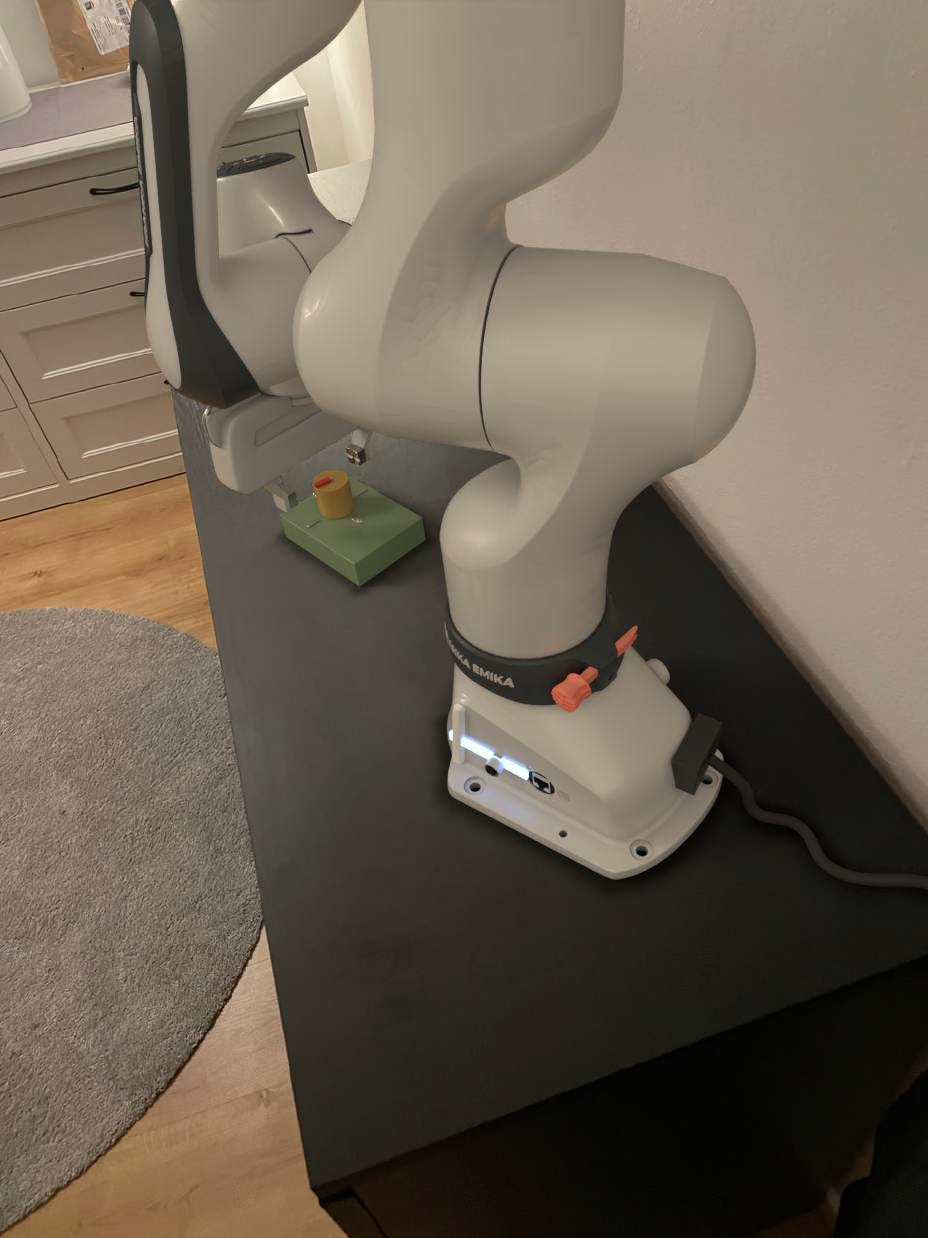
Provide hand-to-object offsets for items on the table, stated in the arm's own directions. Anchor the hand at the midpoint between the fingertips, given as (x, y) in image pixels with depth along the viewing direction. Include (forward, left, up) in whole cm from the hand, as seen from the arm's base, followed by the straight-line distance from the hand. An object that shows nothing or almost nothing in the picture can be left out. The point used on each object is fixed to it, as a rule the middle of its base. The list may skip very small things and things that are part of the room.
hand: (324, 483), depth 88 cm
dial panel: (-2, -1, -7) cm, 7 cm away
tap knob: (0, -1, -4) cm, 4 cm away
